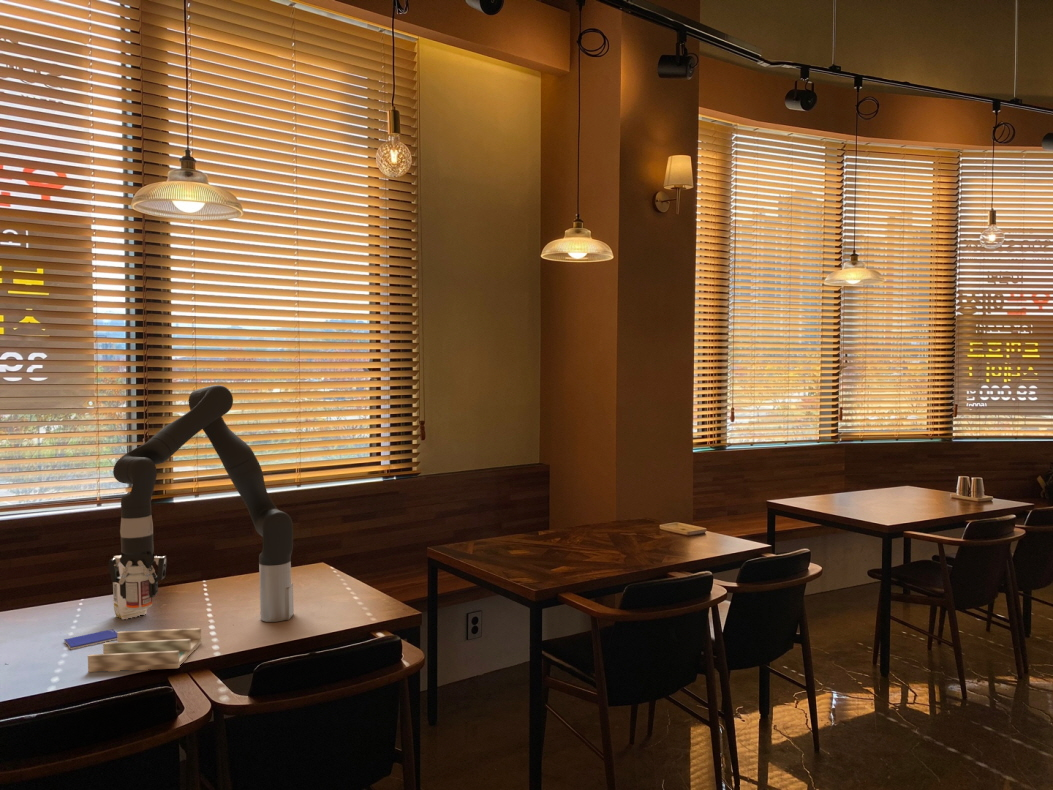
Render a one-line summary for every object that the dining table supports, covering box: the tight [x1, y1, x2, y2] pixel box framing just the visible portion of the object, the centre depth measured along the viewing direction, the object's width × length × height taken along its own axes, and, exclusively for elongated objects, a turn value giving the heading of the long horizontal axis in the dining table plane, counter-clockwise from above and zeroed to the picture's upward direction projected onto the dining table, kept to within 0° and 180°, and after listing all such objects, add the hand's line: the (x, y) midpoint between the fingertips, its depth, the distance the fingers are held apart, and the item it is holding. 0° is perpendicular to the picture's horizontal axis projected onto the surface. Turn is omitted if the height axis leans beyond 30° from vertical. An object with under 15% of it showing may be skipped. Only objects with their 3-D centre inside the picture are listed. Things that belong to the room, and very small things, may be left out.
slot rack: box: [87, 627, 202, 673], centre depth 206 cm, size 22×18×4 cm
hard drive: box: [63, 628, 118, 650], centre depth 219 cm, size 2×8×12 cm
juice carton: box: [112, 554, 148, 620], centre depth 240 cm, size 8×9×19 cm
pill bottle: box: [125, 566, 154, 610], centre depth 201 cm, size 6×6×11 cm
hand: (139, 597), depth 201 cm, fingers closed on pill bottle, 6 cm apart
